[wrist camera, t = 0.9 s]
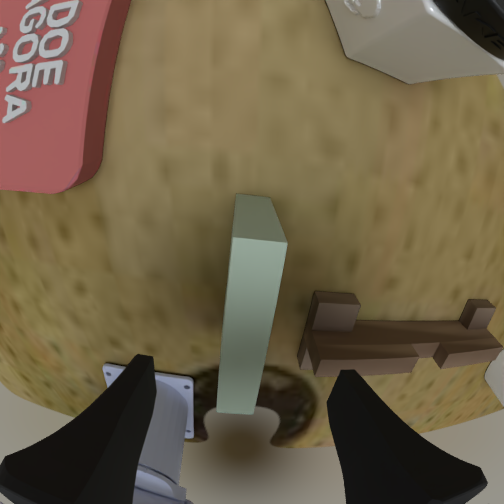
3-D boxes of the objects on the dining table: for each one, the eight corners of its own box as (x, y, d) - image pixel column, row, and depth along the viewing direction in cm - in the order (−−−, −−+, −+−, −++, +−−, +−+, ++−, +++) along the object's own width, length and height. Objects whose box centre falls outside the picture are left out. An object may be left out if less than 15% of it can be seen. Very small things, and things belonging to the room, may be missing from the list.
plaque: (-25, -26, 6) (139, -82, 8) (0, -16, 10) (154, -55, 11) (-63, 187, 13) (76, 199, 14) (-34, 176, 16) (103, 185, 18)
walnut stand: (462, 350, 24) (484, 378, 20) (297, 356, 23) (306, 398, 19) (487, 299, 22) (514, 325, 18) (314, 291, 21) (330, 330, 17)
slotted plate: (249, 333, 22) (253, 414, 15) (222, 331, 22) (216, 412, 15) (269, 197, 18) (287, 242, 11) (236, 193, 18) (233, 236, 11)
